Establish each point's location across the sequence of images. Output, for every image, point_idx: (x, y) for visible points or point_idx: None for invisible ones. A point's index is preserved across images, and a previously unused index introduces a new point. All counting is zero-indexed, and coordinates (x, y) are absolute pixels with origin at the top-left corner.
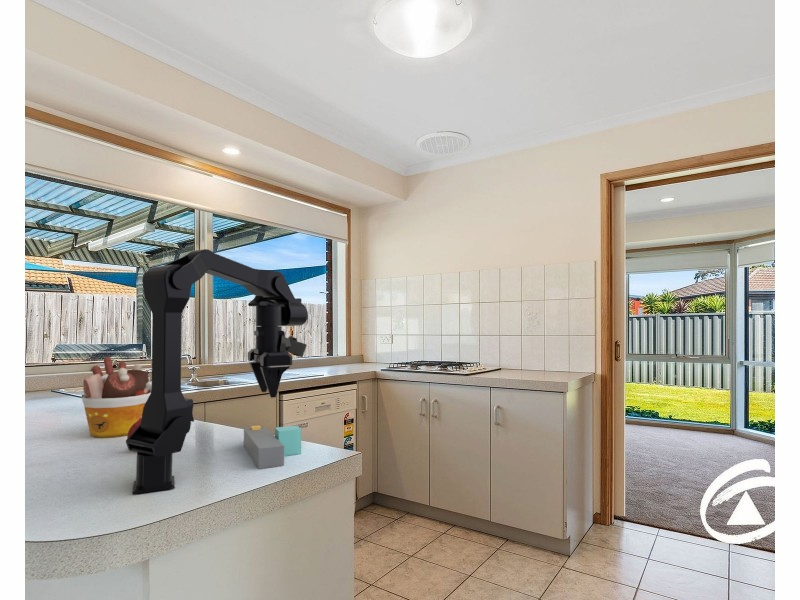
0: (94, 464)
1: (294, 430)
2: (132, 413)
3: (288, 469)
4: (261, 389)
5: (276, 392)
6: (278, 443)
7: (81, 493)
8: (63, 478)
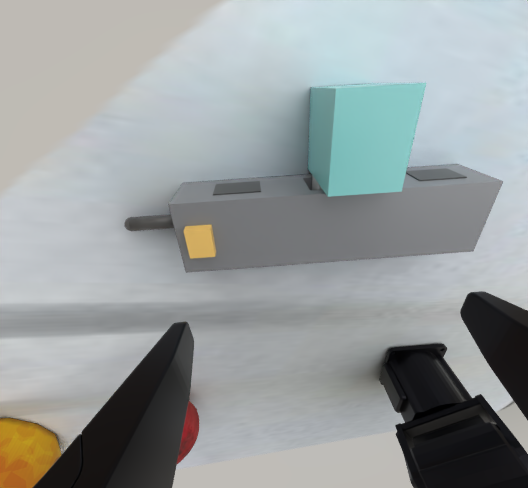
0: (243, 423)
1: (414, 120)
2: (11, 477)
3: (496, 157)
4: (191, 361)
5: (523, 312)
6: (460, 193)
7: (377, 411)
8: (299, 433)
